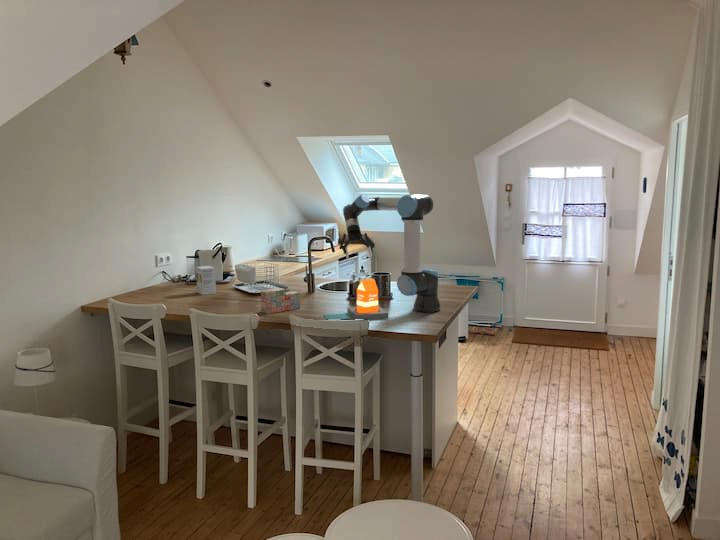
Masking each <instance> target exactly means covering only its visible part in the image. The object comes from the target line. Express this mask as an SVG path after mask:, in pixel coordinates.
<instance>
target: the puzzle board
mask: <svg viewBox="0 0 720 540" xmlns="http://www.w3.org/2000/svg"><path fill="white" fill-rule="evenodd" d="M346 312H347V314H348V315H349V317H351V318H352V319H353V320H354V319H369V321H370V320H372V319H374V320H381V319H380V318H388V319H389V312H388V311H387V310H385V309H384V308H382V307H381V306H380V305H378V312H371V313H358V312H357V306H351V307H347V311H346Z"/></svg>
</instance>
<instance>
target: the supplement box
mask: <svg viewBox="0 0 720 540" xmlns="http://www.w3.org/2000/svg"><path fill="white" fill-rule="evenodd" d="M195 270H196V271H195V273H196V293H198V294H199V295H202V296H204V295H205V296H206V295H213V294H214V295H215V294H217V288H216V287H217V285H216V284H217V281H216V267H213V266H211V265H204V266H202V265H201V266H196V267H195Z"/></svg>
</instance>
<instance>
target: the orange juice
mask: <svg viewBox="0 0 720 540" xmlns="http://www.w3.org/2000/svg"><path fill="white" fill-rule="evenodd" d="M378 306H379V289H378V285H377V283H376V281H375V278H368V279H361V280H360V282H359V284H358V286H357V288H356V307H357V312H358V313H371V312H378Z"/></svg>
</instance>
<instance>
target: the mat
mask: <svg viewBox="0 0 720 540" xmlns="http://www.w3.org/2000/svg"><path fill="white" fill-rule="evenodd" d="M323 317H324V318H325V320H327V319H350V320H351V318H350V316H348V315H347V314H346V313H345V312H344V313H332V314H331V313H330V314H323Z"/></svg>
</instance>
